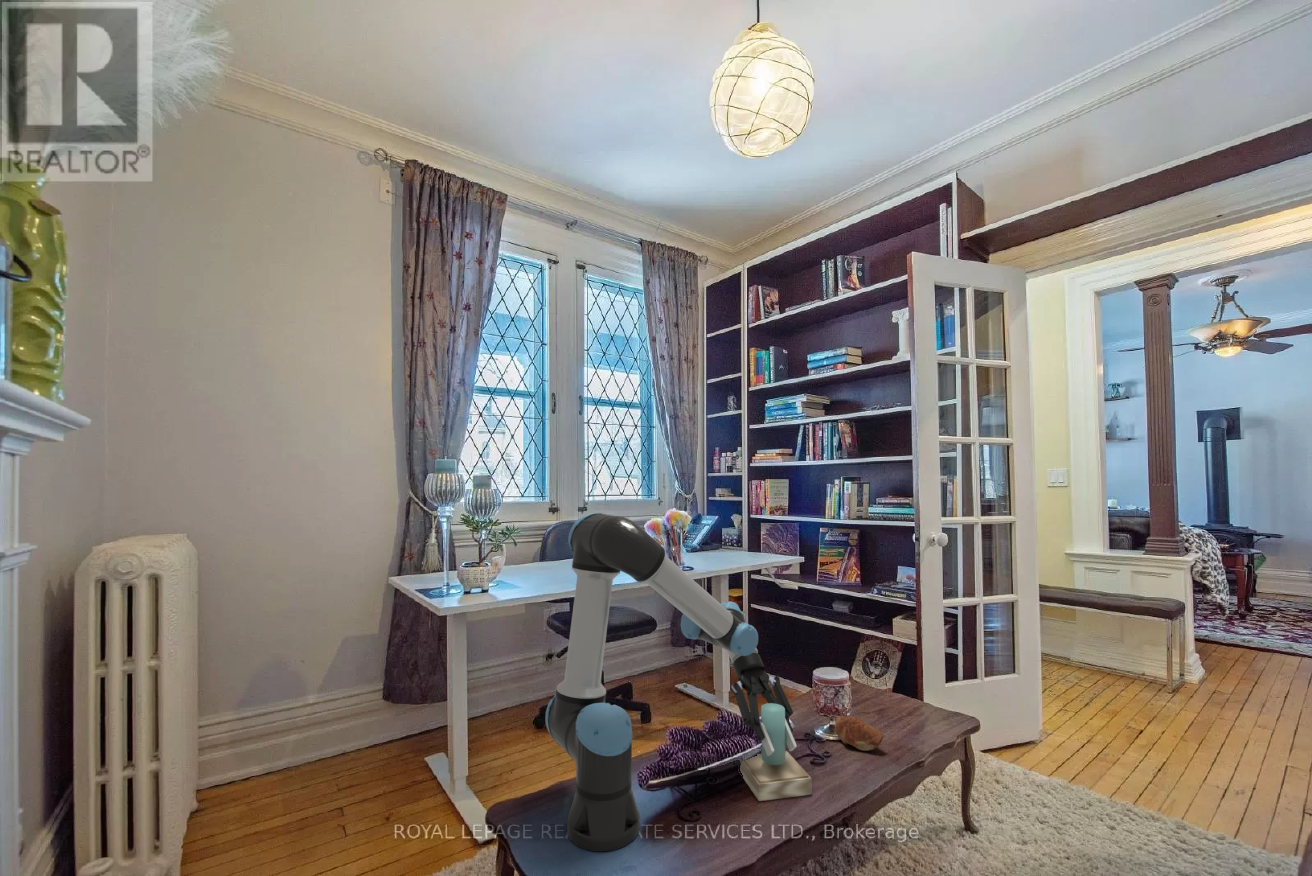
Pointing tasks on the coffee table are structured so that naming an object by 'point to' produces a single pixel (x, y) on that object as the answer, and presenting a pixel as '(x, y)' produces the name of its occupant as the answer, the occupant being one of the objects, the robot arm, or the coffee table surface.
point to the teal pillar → (774, 732)
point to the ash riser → (776, 778)
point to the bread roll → (858, 733)
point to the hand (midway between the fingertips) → (782, 750)
